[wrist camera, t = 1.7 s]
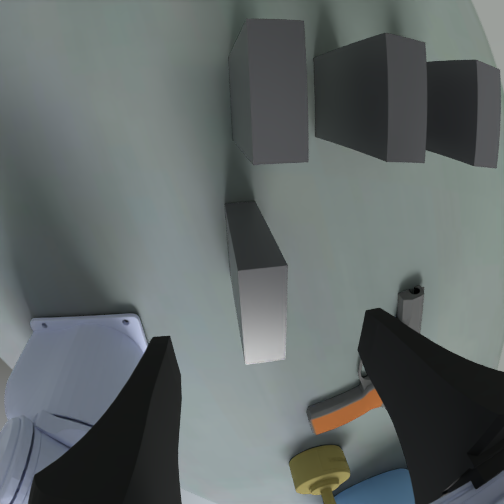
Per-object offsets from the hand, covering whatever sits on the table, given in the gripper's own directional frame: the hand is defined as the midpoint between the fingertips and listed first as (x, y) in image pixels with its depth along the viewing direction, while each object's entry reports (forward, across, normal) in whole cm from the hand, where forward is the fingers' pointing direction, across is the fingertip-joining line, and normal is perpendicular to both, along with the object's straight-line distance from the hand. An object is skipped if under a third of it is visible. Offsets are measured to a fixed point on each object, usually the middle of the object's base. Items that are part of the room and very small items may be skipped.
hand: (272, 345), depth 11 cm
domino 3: (+10, -6, -8) cm, 14 cm away
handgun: (+10, -10, +14) cm, 21 cm away
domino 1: (+10, -1, -8) cm, 13 cm away
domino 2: (+10, 0, 0) cm, 10 cm away
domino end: (+10, -10, -8) cm, 16 cm away
